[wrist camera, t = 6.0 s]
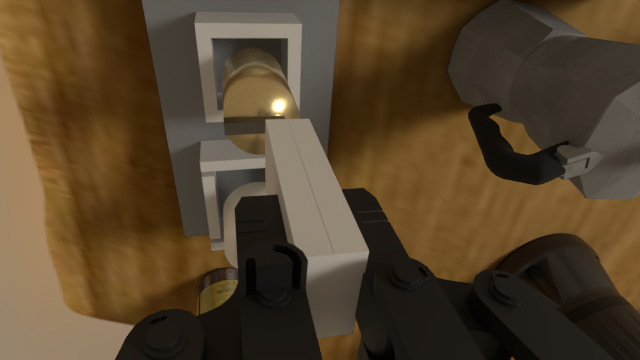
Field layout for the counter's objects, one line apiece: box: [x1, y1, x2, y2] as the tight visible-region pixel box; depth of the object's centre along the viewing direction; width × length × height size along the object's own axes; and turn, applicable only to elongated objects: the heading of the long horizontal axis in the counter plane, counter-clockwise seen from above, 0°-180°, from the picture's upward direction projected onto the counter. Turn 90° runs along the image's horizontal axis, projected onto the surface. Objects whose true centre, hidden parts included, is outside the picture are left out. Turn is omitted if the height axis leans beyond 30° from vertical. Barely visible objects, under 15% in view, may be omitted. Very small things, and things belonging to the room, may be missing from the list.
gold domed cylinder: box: [222, 48, 300, 155], centre depth 21 cm, size 4×4×7 cm
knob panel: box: [142, 0, 339, 251], centre depth 26 cm, size 30×12×6 cm, turn 177°
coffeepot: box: [447, 0, 640, 200], centre depth 26 cm, size 15×9×18 cm, turn 102°
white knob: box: [223, 182, 267, 269], centre depth 27 cm, size 5×5×5 cm
